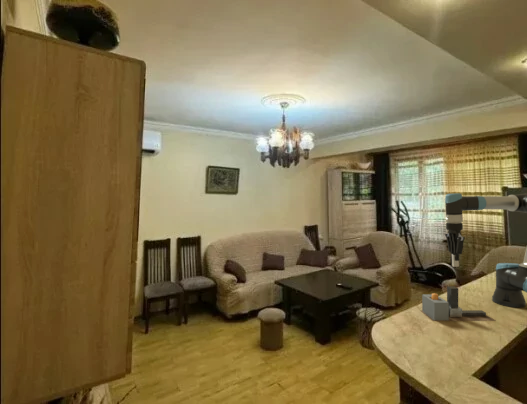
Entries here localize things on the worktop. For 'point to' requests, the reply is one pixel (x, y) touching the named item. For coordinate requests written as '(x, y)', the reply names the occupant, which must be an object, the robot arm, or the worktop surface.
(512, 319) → the worktop surface
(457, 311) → the carriage
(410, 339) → the worktop surface
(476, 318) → the base board
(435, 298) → the button
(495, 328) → the worktop surface
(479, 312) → the rail
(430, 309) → the end cabinet
